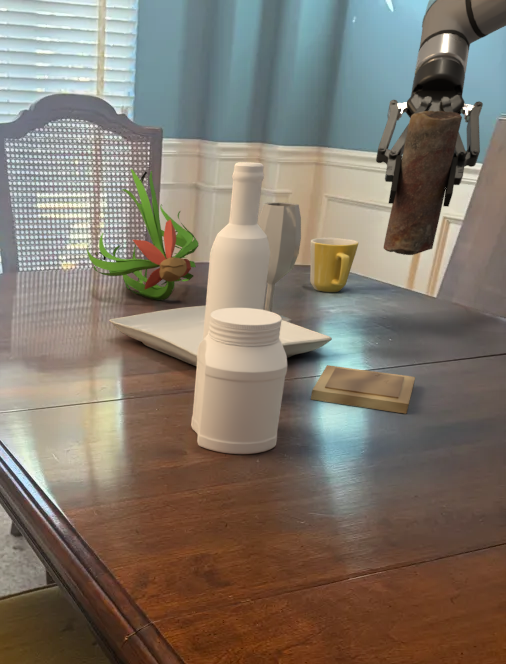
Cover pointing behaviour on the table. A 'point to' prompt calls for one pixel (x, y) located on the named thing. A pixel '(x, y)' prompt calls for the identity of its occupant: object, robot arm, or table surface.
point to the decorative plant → (152, 250)
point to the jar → (239, 382)
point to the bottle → (239, 249)
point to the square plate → (201, 333)
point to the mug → (331, 263)
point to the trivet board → (364, 389)
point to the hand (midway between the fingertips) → (419, 198)
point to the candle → (422, 181)
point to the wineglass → (280, 242)
